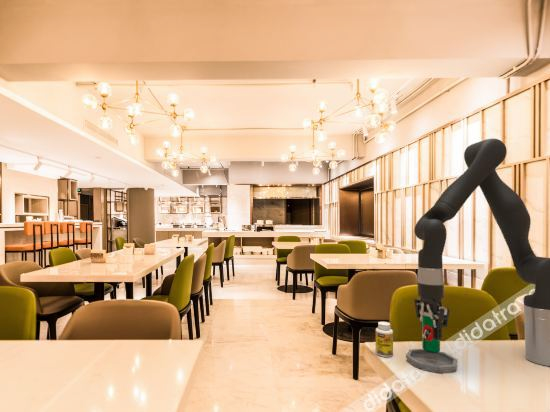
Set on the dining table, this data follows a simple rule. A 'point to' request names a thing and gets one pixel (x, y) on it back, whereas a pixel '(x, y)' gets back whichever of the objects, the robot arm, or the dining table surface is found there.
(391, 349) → the supplement bottle
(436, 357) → the dish
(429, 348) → the soda can
